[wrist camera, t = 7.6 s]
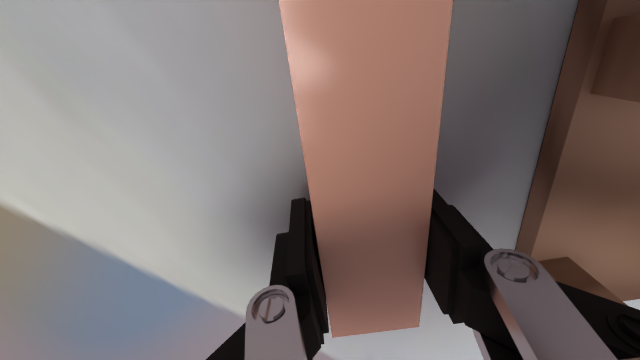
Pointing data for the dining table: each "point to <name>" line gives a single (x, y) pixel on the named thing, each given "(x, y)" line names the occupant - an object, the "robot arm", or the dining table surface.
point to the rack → (592, 159)
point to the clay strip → (369, 147)
